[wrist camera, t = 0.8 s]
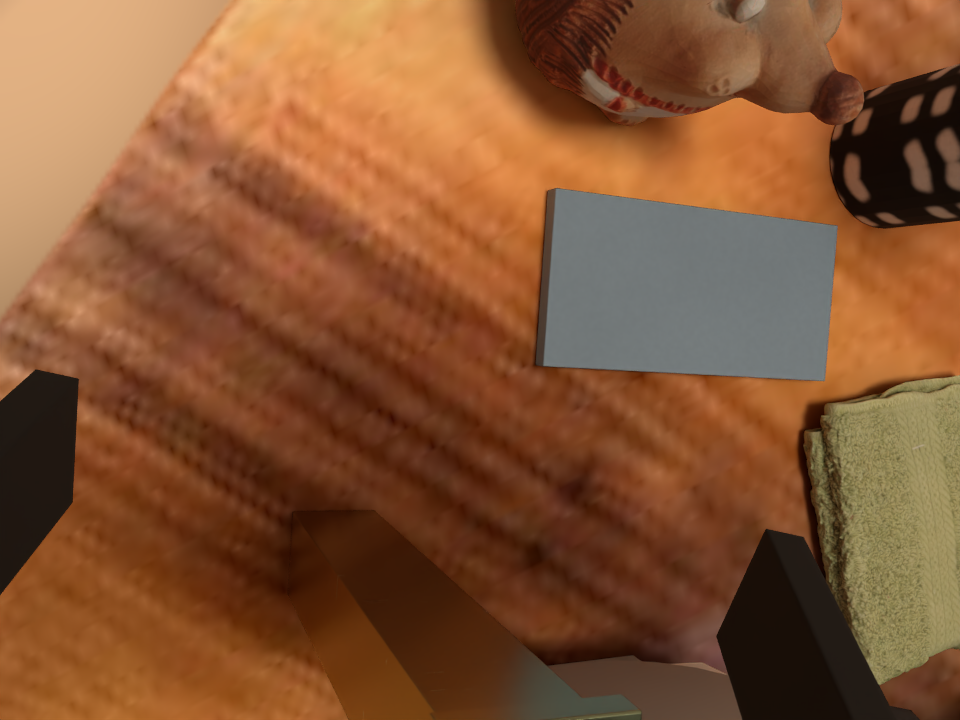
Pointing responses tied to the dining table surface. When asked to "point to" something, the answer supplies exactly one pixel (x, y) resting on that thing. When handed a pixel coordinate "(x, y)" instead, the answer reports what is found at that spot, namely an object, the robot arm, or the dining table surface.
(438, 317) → the dining table surface
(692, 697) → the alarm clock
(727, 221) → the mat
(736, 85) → the figurine
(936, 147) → the white-spotted black cylinder
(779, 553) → the robot arm
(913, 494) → the washcloth
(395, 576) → the olive green post
